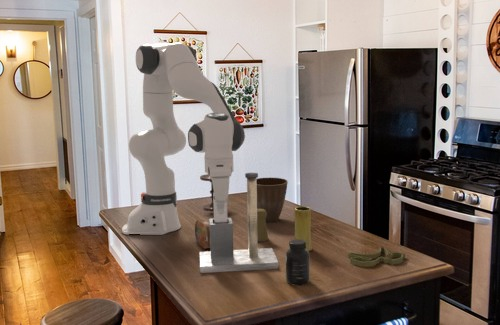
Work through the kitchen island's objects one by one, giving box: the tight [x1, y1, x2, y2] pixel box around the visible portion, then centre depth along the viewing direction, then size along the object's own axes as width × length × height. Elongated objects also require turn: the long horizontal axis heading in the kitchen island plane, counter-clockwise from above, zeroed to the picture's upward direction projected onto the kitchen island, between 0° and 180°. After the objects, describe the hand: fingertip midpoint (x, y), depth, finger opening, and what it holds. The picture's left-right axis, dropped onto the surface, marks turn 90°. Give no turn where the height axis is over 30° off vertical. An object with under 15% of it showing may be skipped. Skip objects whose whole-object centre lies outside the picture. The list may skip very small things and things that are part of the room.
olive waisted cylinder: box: [257, 209, 269, 242], centre depth 201 cm, size 6×6×11 cm
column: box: [213, 193, 228, 224], centre depth 175 cm, size 4×4×20 cm
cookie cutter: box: [347, 246, 406, 268], centre depth 178 cm, size 18×12×2 cm, turn 114°
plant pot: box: [257, 177, 289, 223], centre depth 226 cm, size 15×15×16 cm
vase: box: [293, 206, 313, 252], centre depth 188 cm, size 6×6×14 cm
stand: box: [199, 172, 279, 274], centre depth 175 cm, size 24×14×29 cm, turn 96°
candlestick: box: [199, 173, 214, 212], centre depth 245 cm, size 11×11×35 cm
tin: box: [194, 219, 210, 250], centre depth 196 cm, size 15×3×8 cm, turn 22°
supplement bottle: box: [285, 238, 311, 286], centre depth 160 cm, size 7×7×12 cm
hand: (220, 209), depth 174 cm, fingers open, 8 cm apart
